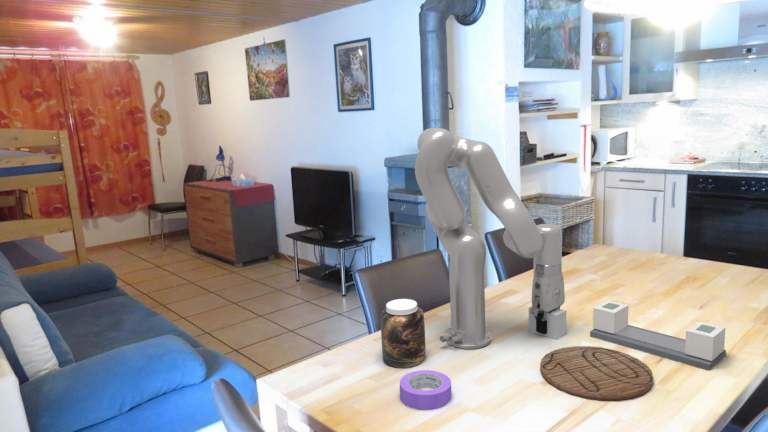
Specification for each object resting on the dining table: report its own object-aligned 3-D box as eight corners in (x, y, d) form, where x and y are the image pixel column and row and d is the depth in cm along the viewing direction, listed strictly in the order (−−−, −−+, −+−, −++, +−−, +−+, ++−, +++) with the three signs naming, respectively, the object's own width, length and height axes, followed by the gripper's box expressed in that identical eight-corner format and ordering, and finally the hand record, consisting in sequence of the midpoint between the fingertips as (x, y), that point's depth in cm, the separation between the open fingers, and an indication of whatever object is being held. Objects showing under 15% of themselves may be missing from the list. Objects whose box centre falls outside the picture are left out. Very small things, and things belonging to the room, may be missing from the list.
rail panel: (709, 370, 128) (709, 363, 128) (590, 336, 151) (590, 329, 150) (725, 355, 135) (726, 348, 135) (609, 324, 158) (609, 318, 157)
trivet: (582, 412, 114) (582, 404, 114) (520, 362, 138) (520, 355, 138) (678, 390, 121) (679, 382, 121) (604, 346, 145) (604, 339, 144)
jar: (376, 353, 147) (372, 301, 144) (415, 345, 151) (413, 294, 148) (391, 372, 136) (388, 315, 133) (433, 362, 140) (431, 307, 137)
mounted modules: (711, 361, 129) (713, 336, 128) (592, 328, 151) (593, 307, 150) (724, 350, 134) (725, 326, 133) (607, 320, 156) (607, 299, 155)
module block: (556, 339, 150) (556, 315, 148) (528, 331, 156) (528, 307, 155) (566, 334, 153) (566, 310, 152) (538, 326, 160) (538, 302, 158)
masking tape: (447, 383, 129) (447, 368, 129) (455, 408, 118) (455, 392, 117) (398, 386, 129) (397, 371, 128) (401, 412, 118) (401, 396, 117)
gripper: (541, 278, 143) (541, 342, 146) (575, 264, 154) (575, 324, 157) (517, 272, 149) (518, 335, 152) (552, 259, 159) (552, 318, 163)
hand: (547, 329), depth 154 cm, fingers closed on module block, 5 cm apart
